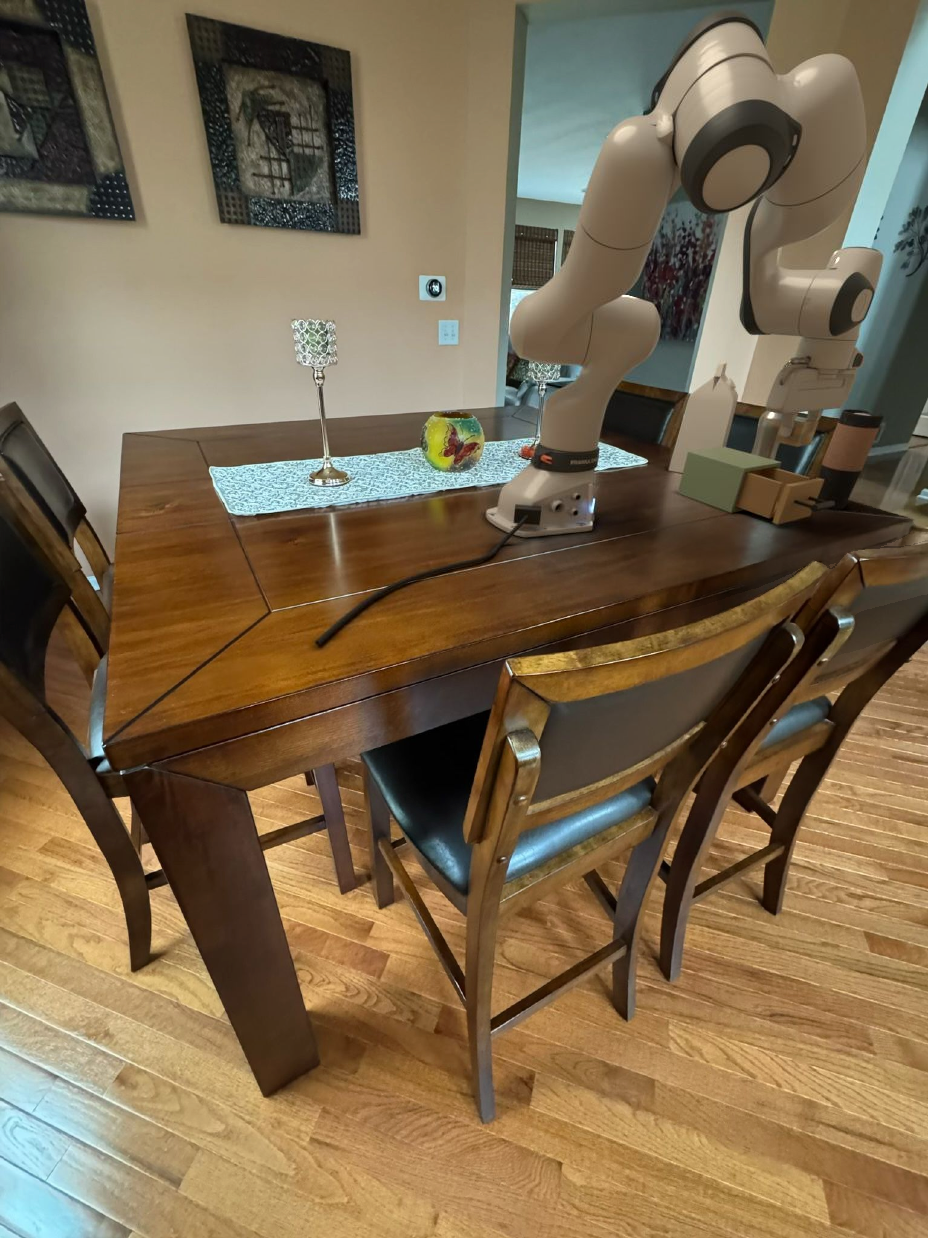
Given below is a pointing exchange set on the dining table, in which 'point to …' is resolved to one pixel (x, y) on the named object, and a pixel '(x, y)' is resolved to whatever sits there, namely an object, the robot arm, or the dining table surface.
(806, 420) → the block
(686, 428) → the milk
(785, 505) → the drawer
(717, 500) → the cabinet
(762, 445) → the plastic bottle
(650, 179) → the robot arm
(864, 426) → the travel mug
